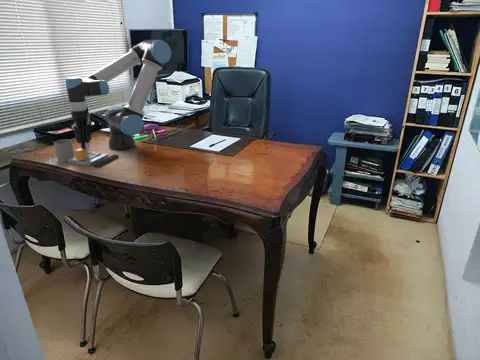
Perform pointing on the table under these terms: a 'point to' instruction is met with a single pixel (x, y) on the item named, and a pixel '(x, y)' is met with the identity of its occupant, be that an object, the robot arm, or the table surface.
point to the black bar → (106, 160)
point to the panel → (89, 159)
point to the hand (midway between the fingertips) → (86, 154)
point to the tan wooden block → (81, 154)
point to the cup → (64, 150)
